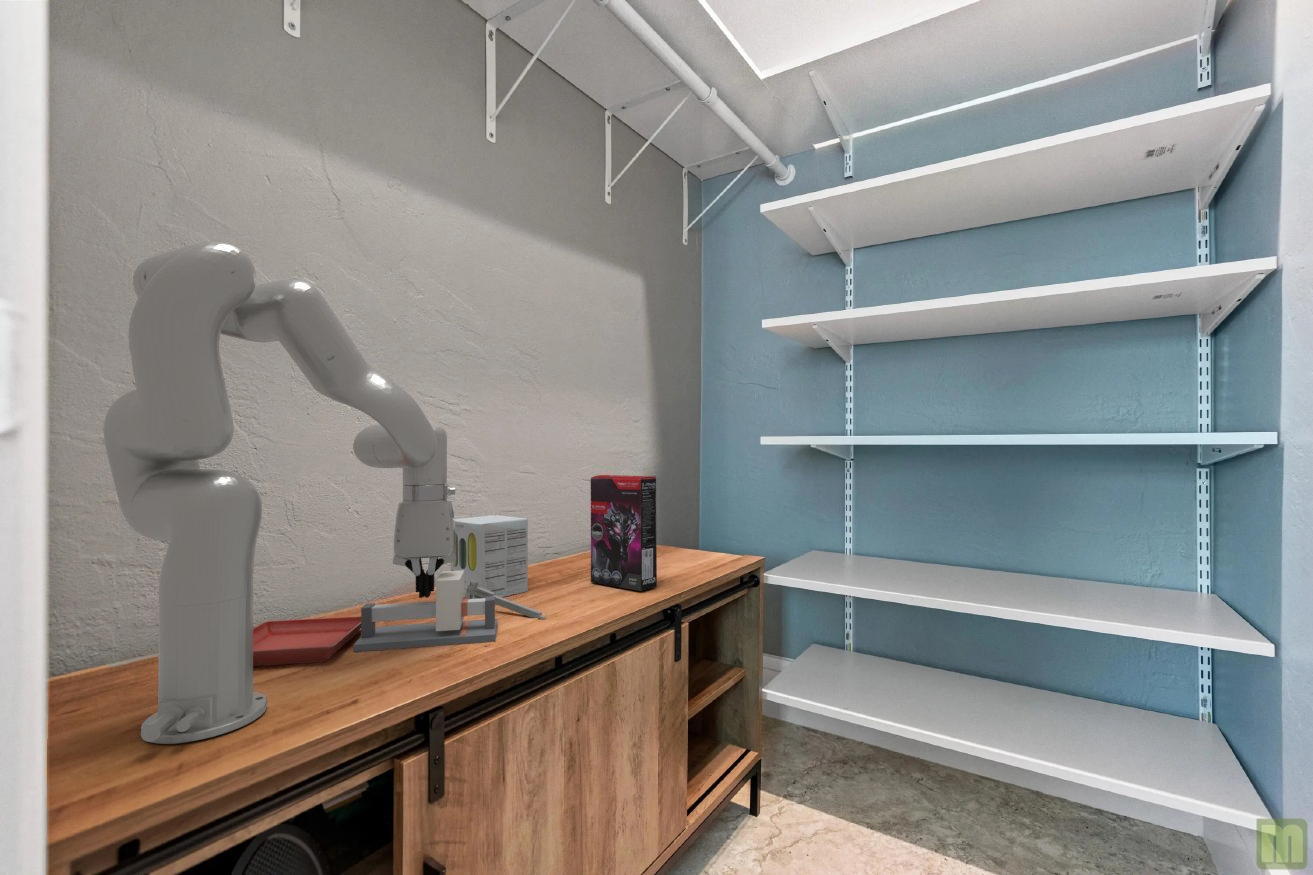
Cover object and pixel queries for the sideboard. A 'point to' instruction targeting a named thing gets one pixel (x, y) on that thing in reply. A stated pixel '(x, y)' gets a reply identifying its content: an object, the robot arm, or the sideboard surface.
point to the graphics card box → (624, 531)
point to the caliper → (501, 601)
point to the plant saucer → (301, 639)
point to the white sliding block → (449, 600)
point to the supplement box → (493, 553)
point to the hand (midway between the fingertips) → (425, 595)
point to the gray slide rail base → (423, 625)
